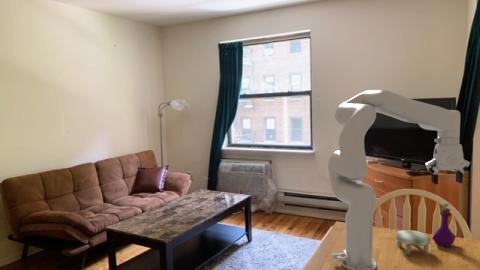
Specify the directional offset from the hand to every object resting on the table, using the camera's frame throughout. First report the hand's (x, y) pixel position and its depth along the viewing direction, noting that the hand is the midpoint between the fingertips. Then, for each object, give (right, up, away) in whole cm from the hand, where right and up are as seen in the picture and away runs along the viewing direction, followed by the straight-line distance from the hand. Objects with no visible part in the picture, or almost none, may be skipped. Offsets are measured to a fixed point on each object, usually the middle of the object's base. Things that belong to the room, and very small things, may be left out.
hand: (446, 182), depth 139 cm
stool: (-14, -27, -1) cm, 31 cm away
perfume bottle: (+1, -26, +3) cm, 27 cm away
